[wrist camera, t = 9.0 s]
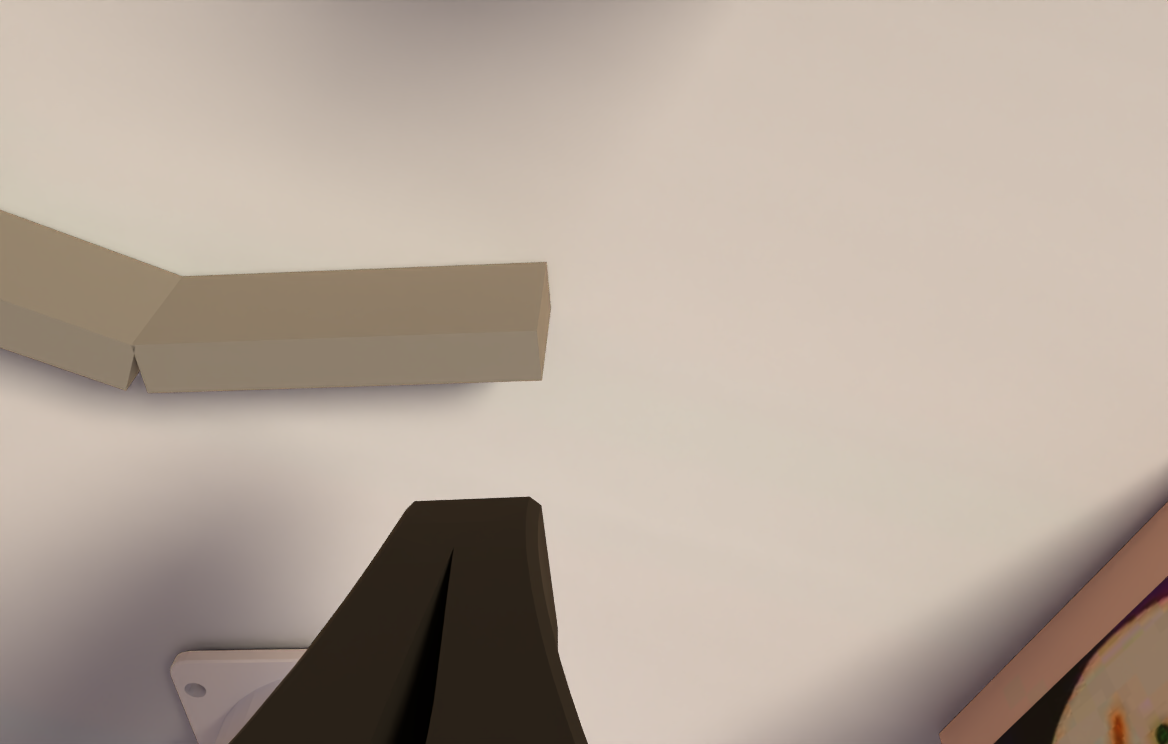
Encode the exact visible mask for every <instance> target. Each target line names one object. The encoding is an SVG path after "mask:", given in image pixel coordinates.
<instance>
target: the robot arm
mask: <svg viewBox="0 0 1168 744" xmlns="http://www.w3.org/2000/svg"><path fill="white" fill-rule="evenodd" d="M170 675H171V677H172V680H173V682H174V685H175V687H176V690H177V692H178V695H179V697H180V700H181V702H182V705H183V707H184V710H185V712H186V715H187V717H188V720H189V722H190V725H191V727H192V729H193V732H194V734H195V737H196V739H197V742H198V744H588V743H587V740H586V737H585V735H584V732H583V729H582V726H581V723H580V720H579V717H578V714H577V711H576V708H575V705H574V702H573V699H572V697H571V694H570V691H569V688H568V684H567V681H566V678H565V674H564V671H563V668H562V664H561V661H560V657H559V653H558V627H557V619H556V612H555V604H554V597H553V590H552V582H551V575H550V567H549V560H548V552H547V545H546V537H545V530H544V522H543V515H542V507H541V505H540V504H539V503H537V502H536V501H535V500H533V499H532V498H531V497H510V498H485V499H460V500H435V501H414V502H413V503H412V504H411V505H410V506H409V507H408V508H407V509H406V511H405V512H404V514H403V515H402V517H401V518H400V520H399V521H398V523H397V524H396V526H395V527H394V529H393V530H392V532H391V533H390V535H389V536H388V538H387V539H386V541H385V542H384V544H383V545H382V547H381V548H380V550H379V551H378V553H377V554H376V556H375V557H374V558H373V560H372V561H371V563H370V564H369V566H368V567H367V569H366V570H365V571H364V573H363V574H362V576H361V577H360V579H359V580H358V581H357V583H356V584H355V586H354V587H353V588H352V590H351V591H350V593H349V594H348V596H347V597H346V598H345V600H344V601H343V602H342V604H341V605H340V606H339V608H338V609H337V610H336V612H335V613H334V614H333V616H332V617H331V618H330V620H329V621H328V622H327V624H326V625H325V626H324V628H323V629H322V630H321V632H320V633H319V634H318V636H317V637H316V638H315V640H314V641H313V642H312V644H311V645H310V646H309V648H308V649H271V650H211V651H186V652H182V653H180V654H178V655H177V656H176V658H175V660H174V662H173V664H172V666H171V668H170Z"/></svg>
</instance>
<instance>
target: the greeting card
mask: <svg viewBox="0 0 1168 744" xmlns="http://www.w3.org/2000/svg"><path fill="white" fill-rule="evenodd" d="M939 736H940V740H941V743H942V744H1168V502H1167V503H1166V504H1165V505H1164V506H1163V507H1162V508H1161V509H1160V510H1159V511H1158V512H1157V513H1156V514H1155V515H1154V516H1153V517H1152V518H1151V519H1150V520H1149V521H1148V522H1147V523H1146V524H1145V525H1144V526H1143V527H1142V528H1141V529H1140V530H1139V531H1138V532H1137V533H1136V534H1135V536H1134V537H1133V538H1132V539H1131V540H1130V541H1129V542H1128V543H1127V544H1126V545H1125V546H1124V547H1123V548H1122V549H1121V550H1120V551H1119V552H1118V553H1117V554H1116V555H1115V556H1114V557H1113V558H1112V559H1111V560H1110V561H1109V562H1108V563H1107V564H1106V565H1105V566H1104V567H1103V568H1102V569H1101V570H1100V571H1099V572H1098V573H1097V574H1096V575H1095V576H1094V577H1093V578H1092V579H1091V580H1090V581H1089V582H1088V583H1087V584H1086V585H1085V586H1084V587H1083V588H1082V589H1081V590H1080V591H1079V592H1078V593H1077V594H1076V595H1075V596H1074V597H1073V598H1072V599H1071V600H1070V601H1069V602H1068V603H1067V604H1066V606H1065V607H1064V608H1063V609H1062V610H1061V611H1060V612H1059V613H1058V614H1057V615H1056V616H1055V617H1054V618H1053V619H1052V620H1051V621H1050V622H1049V623H1048V624H1047V625H1046V626H1045V627H1044V628H1043V629H1042V630H1041V631H1040V632H1039V633H1038V634H1037V635H1036V636H1035V637H1034V638H1033V639H1032V640H1031V641H1030V642H1029V643H1028V644H1027V645H1026V646H1025V647H1024V648H1023V649H1022V650H1021V651H1020V652H1019V653H1018V654H1017V655H1016V656H1015V657H1014V658H1013V659H1012V660H1011V661H1010V662H1009V663H1008V664H1007V665H1006V666H1005V667H1004V668H1003V669H1002V670H1001V671H1000V672H999V673H998V674H997V675H996V677H995V678H994V679H993V680H992V681H991V682H990V683H989V684H988V685H987V686H986V687H985V688H984V689H983V690H982V691H981V692H980V693H979V694H978V695H977V696H976V697H975V698H974V699H973V700H972V701H971V702H970V703H969V704H968V705H967V706H966V707H965V708H964V709H963V710H962V711H961V712H960V713H959V714H958V715H957V716H956V717H955V718H954V719H953V720H952V721H951V722H950V723H949V724H948V725H947V726H946V727H945V728H944V729H943V730H942V731H941V732H940V733H939Z"/></svg>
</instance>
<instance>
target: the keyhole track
mask: <svg viewBox="0 0 1168 744" xmlns="http://www.w3.org/2000/svg"><path fill="white" fill-rule="evenodd" d="M550 311H551V305H550V294H549V283H548V272H547V262H537V263H512V264H486V265H461V266H436V267H411V268H385V269H360V270H335V271H310V272H284V273H259V274H234V275H209V276H183V277H182V276H180V275H177V274H174V273H171V272H169V271H166V270H163V269H160V268H158V267H155V266H152V265H149V264H147V263H144V262H141V261H138V260H136V259H133V258H130V257H128V256H125V255H122V254H119V253H117V252H114V251H111V250H108V249H106V248H103V247H100V246H97V245H95V244H92V243H89V242H87V241H84V240H81V239H78V238H76V237H73V236H70V235H67V234H65V233H62V232H59V231H56V230H54V229H51V228H48V227H46V226H43V225H40V224H37V223H35V222H32V221H29V220H26V219H24V218H21V217H18V216H15V215H13V214H10V213H7V212H5V211H2V210H0V348H2V349H5V350H8V351H11V352H14V353H17V354H20V355H23V356H26V357H29V358H32V359H35V360H38V361H40V362H43V363H46V364H49V365H52V366H55V367H58V368H61V369H64V370H67V371H70V372H73V373H76V374H78V375H81V376H84V377H87V378H90V379H93V380H96V381H99V382H102V383H105V384H108V385H111V386H114V387H116V388H119V389H122V390H125V391H126V390H127V388H128V387H129V386H130V384H131V383H132V381H133V380H134V378H135V377H136V376H137V374H138V373H139V371H140V372H141V375H142V378H143V381H144V384H145V387H146V390H147V392H148V393H171V392H202V391H233V390H263V389H294V388H325V387H356V386H387V385H417V384H448V383H479V382H510V381H541V380H542V376H543V368H544V360H545V351H546V343H547V335H548V327H549V319H550Z"/></svg>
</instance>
